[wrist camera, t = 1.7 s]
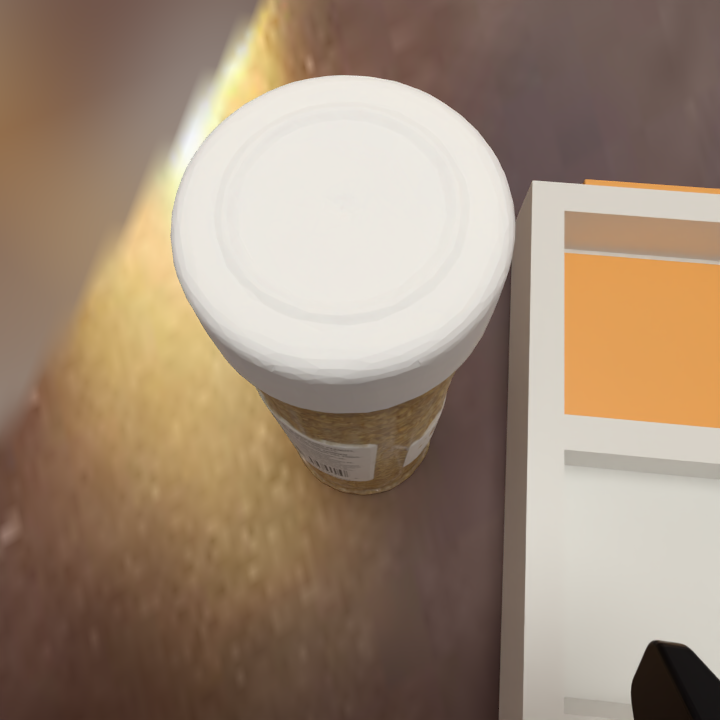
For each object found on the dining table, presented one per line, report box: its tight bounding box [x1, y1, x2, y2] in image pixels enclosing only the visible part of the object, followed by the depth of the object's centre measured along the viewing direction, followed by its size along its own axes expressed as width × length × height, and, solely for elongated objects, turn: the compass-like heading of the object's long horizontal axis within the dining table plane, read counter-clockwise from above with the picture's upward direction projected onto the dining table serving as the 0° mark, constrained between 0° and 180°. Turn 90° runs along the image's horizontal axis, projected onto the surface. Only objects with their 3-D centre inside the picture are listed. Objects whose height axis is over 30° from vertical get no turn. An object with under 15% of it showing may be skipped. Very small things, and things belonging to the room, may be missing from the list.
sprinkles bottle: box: [171, 75, 515, 495], centre depth 14 cm, size 5×5×13 cm
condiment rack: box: [499, 179, 720, 720], centre depth 18 cm, size 24×8×3 cm, turn 174°
